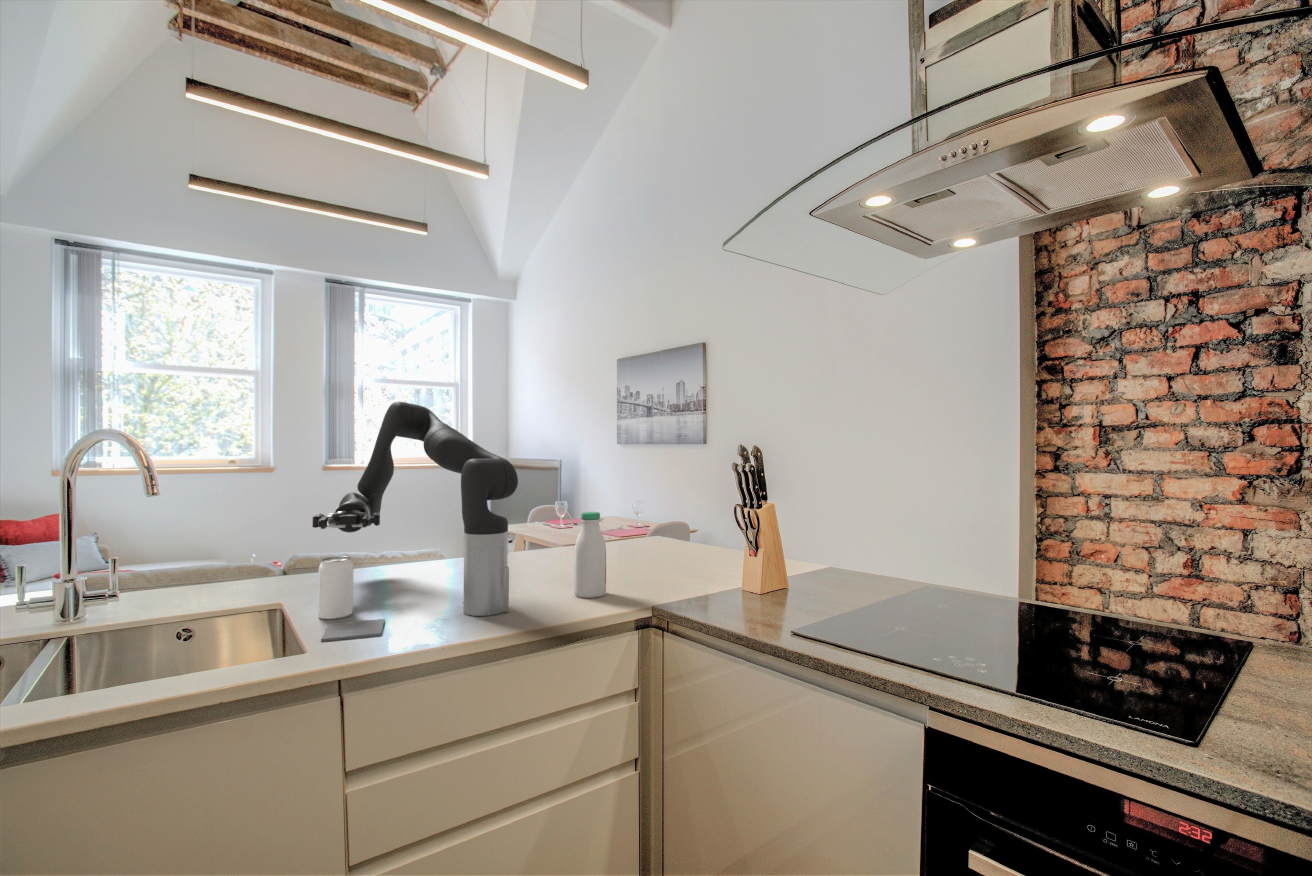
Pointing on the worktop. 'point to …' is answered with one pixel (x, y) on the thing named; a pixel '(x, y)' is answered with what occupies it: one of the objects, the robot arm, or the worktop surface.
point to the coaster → (353, 630)
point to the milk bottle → (590, 558)
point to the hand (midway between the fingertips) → (343, 523)
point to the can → (335, 588)
